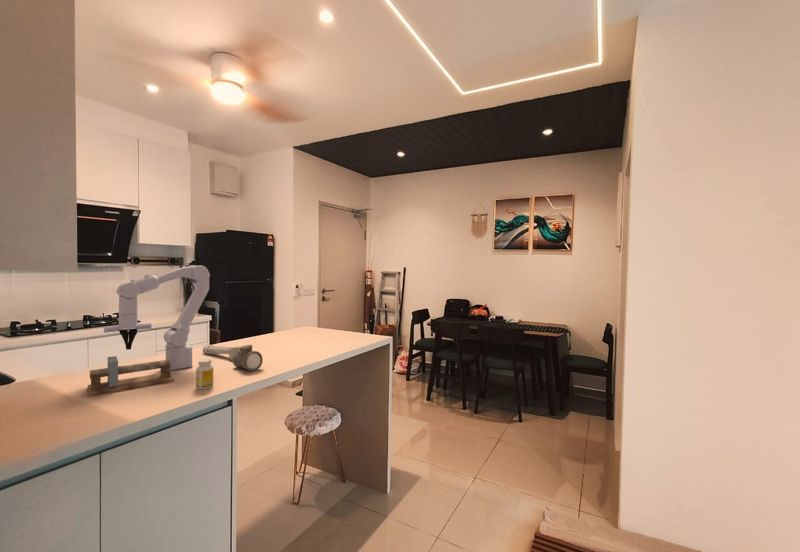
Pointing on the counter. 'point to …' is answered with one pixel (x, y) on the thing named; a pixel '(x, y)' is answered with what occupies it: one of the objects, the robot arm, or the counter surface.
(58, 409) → the counter surface
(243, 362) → the pipe fitting
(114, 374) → the collar
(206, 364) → the supplement bottle
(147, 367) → the pipe stand
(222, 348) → the grey handle
